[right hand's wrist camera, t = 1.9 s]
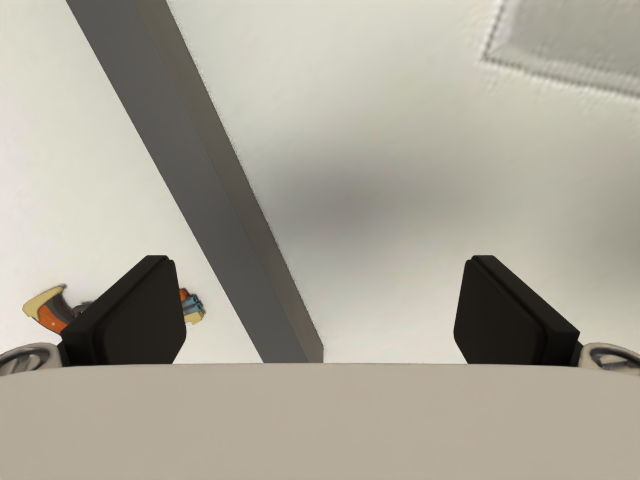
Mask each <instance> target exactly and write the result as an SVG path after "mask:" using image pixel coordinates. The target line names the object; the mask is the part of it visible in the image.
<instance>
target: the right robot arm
mask: <svg viewBox="0 0 640 480" xmlns="http://www.w3.org/2000/svg"><path fill="white" fill-rule="evenodd" d="M60 334H61V337H62V341H61V342H60V343H59V344H58V345H57V346H56V345H54V344H51V343H33V344H28V345H24V346H20V347H17V348H15V349H12V350H9V351H7V352H5V353H3V354H1V355H0V480H640V355H639V354H637V353H635V352H633V351H631V350H628V349H625V348H623V347H620V346H616V345H612V344H607V343H589V344H586V345H584V346H583V345H582V344H581V343H580V342H579V341H578V337H579V334H580V331H579V330H577V329H576V328H575V327H574V326H573V325H572V324H571V323H569V322H568V321H567V320H566V319H565V318H564V317H563V316H561V315H560V314H559V313H558V312H557V311H556V310H555V309H554V308H552V307H551V306H550V305H549V304H548V303H547V302H546V301H544V300H543V299H542V298H541V297H540V296H539V295H538V294H537V293H535V292H534V291H533V290H532V289H531V288H530V287H529V286H527V285H526V284H525V283H524V282H523V281H522V280H521V279H519V278H518V277H517V276H516V275H515V274H514V273H513V272H512V271H510V270H509V269H508V268H507V267H506V266H505V265H504V264H502V263H501V262H500V261H499V260H498V259H497V258H496V257H495V256H493V255H474V256H473V257H472V258H471V260H467V261H466V263H465V267H464V273H463V279H462V285H461V290H460V296H459V302H458V308H457V313H456V319H455V325H454V339H455V342H456V344H457V345H458V347H459V349H460V351H461V352H462V354H463V356H464V358H465V359H466V361H467V363H468V364H400V363H230V364H172V363H173V361H174V359H175V358H176V356H177V354H178V352H179V351H180V349H181V347H182V345H183V344H184V342H185V339H186V325H185V319H184V313H183V308H182V302H181V296H180V290H179V285H178V279H177V273H176V267H175V263H174V261H173V260H169V258H168V257H167V256H166V255H147V256H145V257H144V258H143V259H142V260H141V261H140V262H139V263H138V264H136V265H135V266H134V267H133V268H132V269H131V270H130V271H128V272H127V273H126V274H125V275H124V276H123V277H122V278H121V279H119V280H118V281H117V282H116V283H115V284H114V285H113V286H111V287H110V288H109V289H108V290H107V291H106V292H105V293H103V294H102V295H101V296H100V297H99V298H98V299H97V300H96V301H94V302H93V303H92V304H91V305H90V306H89V307H88V308H86V309H85V310H84V311H83V312H82V313H81V314H80V315H79V316H77V317H76V318H75V319H74V320H73V321H72V322H71V323H69V324H68V325H67V326H66V327H65V328H64V329H63V330H61V331H60Z"/></svg>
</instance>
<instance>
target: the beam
mask: <svg viewBox="0 0 640 480" xmlns="http://www.w3.org/2000/svg"><path fill="white" fill-rule="evenodd" d="M66 2H67V3H68V5H69V7H70V9H71V11H72V13H73V14H74V16H75V18H76V20H77V22H78V24H79V25H80V27H81V29H82V31H83V33H84V35H85V36H86V38H87V40H88V42H89V44H90V46H91V47H92V49H93V51H94V53H95V55H96V57H97V58H98V60H99V62H100V64H101V66H102V68H103V69H104V71H105V73H106V75H107V77H108V79H109V80H110V82H111V84H112V86H113V88H114V90H115V91H116V93H117V95H118V97H119V99H120V101H121V102H122V104H123V106H124V108H125V110H126V112H127V113H128V115H129V117H130V119H131V121H132V123H133V124H134V126H135V128H136V130H137V132H138V133H139V135H140V137H141V139H142V141H143V143H144V144H145V146H146V148H147V150H148V152H149V154H150V155H151V157H152V159H153V161H154V163H155V165H156V166H157V168H158V170H159V172H160V174H161V176H162V177H163V179H164V181H165V183H166V185H167V187H168V188H169V190H170V192H171V194H172V196H173V198H174V199H175V201H176V203H177V205H178V207H179V209H180V210H181V212H182V214H183V216H184V218H185V220H186V221H187V223H188V225H189V227H190V229H191V231H192V232H193V234H194V236H195V238H196V240H197V242H198V243H199V245H200V247H201V249H202V251H203V253H204V254H205V256H206V258H207V260H208V262H209V264H210V265H211V267H212V269H213V271H214V273H215V274H216V276H217V278H218V280H219V282H220V284H221V285H222V287H223V289H224V291H225V293H226V295H227V296H228V298H229V300H230V302H231V304H232V306H233V307H234V309H235V311H236V313H237V315H238V317H239V318H240V320H241V322H242V324H243V326H244V328H245V329H246V331H247V333H248V335H249V337H250V339H251V340H252V342H253V344H254V346H255V348H256V350H257V351H258V353H259V355H260V357H261V359H262V361H263V362H264V363H323V345H322V342H321V340H320V338H319V336H318V334H317V331H316V329H315V327H314V325H313V323H312V321H311V318H310V316H309V314H308V312H307V310H306V307H305V305H304V303H303V301H302V299H301V296H300V294H299V292H298V290H297V288H296V285H295V283H294V281H293V279H292V277H291V275H290V272H289V270H288V268H287V266H286V264H285V261H284V259H283V257H282V255H281V253H280V250H279V248H278V246H277V244H276V242H275V239H274V237H273V235H272V233H271V231H270V228H269V226H268V224H267V222H266V220H265V218H264V215H263V213H262V211H261V209H260V207H259V204H258V202H257V200H256V198H255V196H254V193H253V191H252V189H251V187H250V185H249V182H248V180H247V178H246V176H245V174H244V171H243V169H242V167H241V165H240V163H239V161H238V158H237V156H236V154H235V152H234V150H233V147H232V145H231V143H230V141H229V139H228V136H227V134H226V132H225V130H224V128H223V125H222V123H221V121H220V119H219V117H218V114H217V112H216V110H215V108H214V106H213V104H212V101H211V99H210V97H209V95H208V93H207V90H206V88H205V86H204V84H203V82H202V79H201V77H200V75H199V73H198V71H197V68H196V66H195V64H194V62H193V60H192V58H191V55H190V53H189V51H188V49H187V47H186V44H185V42H184V40H183V38H182V36H181V33H180V31H179V29H178V27H177V25H176V22H175V20H174V18H173V16H172V14H171V11H170V9H169V7H168V5H167V3H166V1H165V0H66Z"/></svg>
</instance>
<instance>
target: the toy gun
mask: <svg viewBox="0 0 640 480" xmlns="http://www.w3.org/2000/svg"><path fill="white" fill-rule="evenodd" d="M62 290H63V288H62V287H56V288H53V289H51V290H48V291H46V292H44V293H42V294H40V295H38V296H36V297H34V298H32V299H31V300H29V301H28V302H26V303H25V304H24V305H23V307H22V310H23V312H24V313H25V314H26V315H27V316H28V317H32V318H33V319H34V320H36V321H37V322H38V323H39V324H41V325H42V326H44V327H45V328H47V329H49V330H51V331H53V332H55V333H57V334H58V335H60V336H61V334H60V331H61V330H63V329H64V328H65V327H66V326H67V325H68V324H69V323H71V322H72V321H73V320H74V319H75V318H76V317H77V316H79V315H80V314H81V312H82V311H84V310H85V309H86V308H88V307H89V306H90V305H91V304H89V305H78V306H76V307H74V308H73V312H74V315H75V317H73V316H72V315H70V314H69V313H68V312H67V311H65V310H64V309H63V307H62V305H61V303H60V301H59V293H60V292H61V291H62ZM180 296H181V302H182V308H183V313H184V319H185V323H186V322H189V321H191V322H192V324H193V325H194V324H196V323H197V322H199V321H201V320H202V318H203V316H204V314H203V312H202V311H201V309H202V308H201V305H200V303H197V299H196V297H195V296H193V297H192V296H189V297H188V295H187V293H186V291H185V290H184V289H181V290H180Z"/></svg>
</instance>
